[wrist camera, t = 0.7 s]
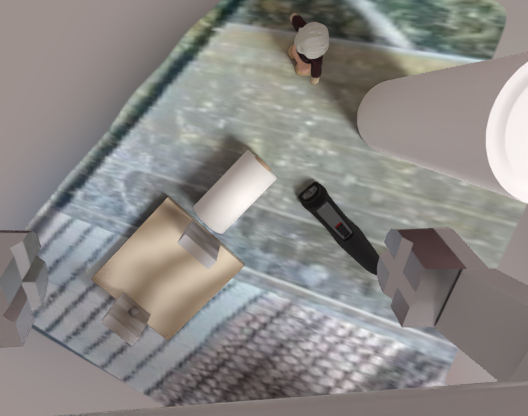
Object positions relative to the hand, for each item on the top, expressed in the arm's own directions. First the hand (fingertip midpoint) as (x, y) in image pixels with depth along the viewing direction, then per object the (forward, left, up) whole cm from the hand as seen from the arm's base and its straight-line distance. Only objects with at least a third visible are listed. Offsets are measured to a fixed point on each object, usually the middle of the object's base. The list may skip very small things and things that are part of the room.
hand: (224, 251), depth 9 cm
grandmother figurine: (+2, -12, -44) cm, 45 cm away
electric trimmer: (-18, 0, -44) cm, 48 cm away
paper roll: (-4, +6, -44) cm, 44 cm away
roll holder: (-5, +21, -44) cm, 49 cm away
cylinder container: (-12, -15, -44) cm, 48 cm away
